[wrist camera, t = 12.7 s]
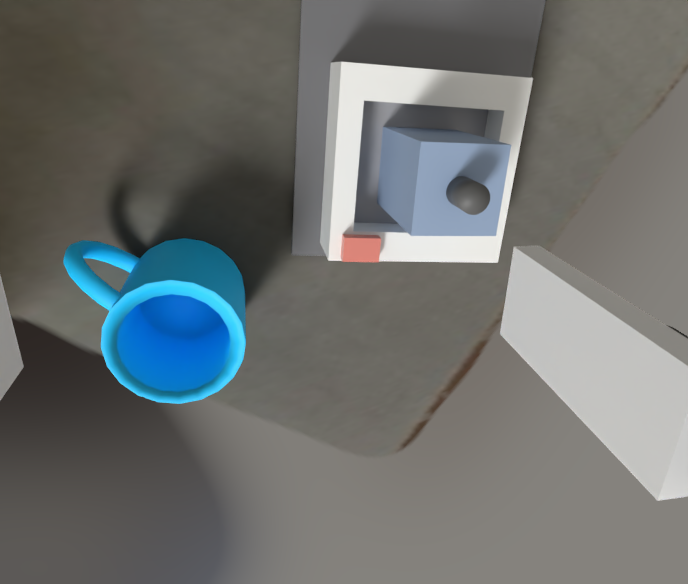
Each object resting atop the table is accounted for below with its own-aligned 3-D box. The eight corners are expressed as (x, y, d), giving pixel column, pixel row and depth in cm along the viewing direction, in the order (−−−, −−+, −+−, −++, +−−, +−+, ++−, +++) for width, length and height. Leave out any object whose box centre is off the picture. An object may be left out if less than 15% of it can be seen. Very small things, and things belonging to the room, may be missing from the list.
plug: (382, 126, 34) (433, 146, 25) (455, 129, 35) (530, 149, 26) (376, 202, 36) (422, 246, 27) (446, 203, 37) (512, 246, 28)
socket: (302, -30, 32) (312, -48, 27) (543, -2, 35) (589, -13, 30) (291, 253, 39) (298, 278, 34) (494, 256, 42) (526, 280, 37)
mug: (266, 279, 39) (272, 327, 32) (204, 360, 41) (196, 424, 33) (117, 181, 35) (83, 211, 27) (53, 276, 36) (6, 329, 29)
